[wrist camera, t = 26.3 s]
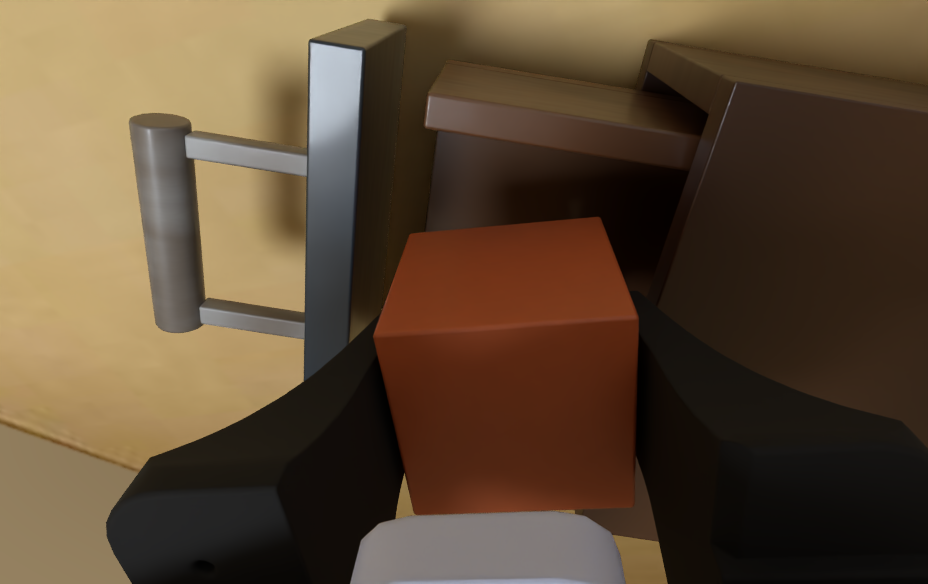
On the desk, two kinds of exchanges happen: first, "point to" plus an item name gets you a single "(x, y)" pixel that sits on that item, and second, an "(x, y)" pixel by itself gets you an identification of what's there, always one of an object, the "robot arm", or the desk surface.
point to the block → (512, 369)
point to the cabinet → (798, 234)
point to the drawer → (452, 182)
